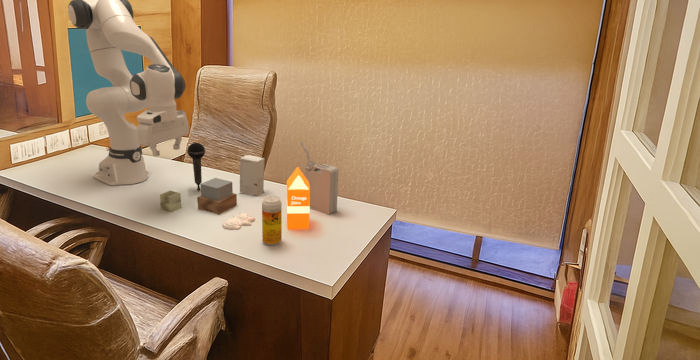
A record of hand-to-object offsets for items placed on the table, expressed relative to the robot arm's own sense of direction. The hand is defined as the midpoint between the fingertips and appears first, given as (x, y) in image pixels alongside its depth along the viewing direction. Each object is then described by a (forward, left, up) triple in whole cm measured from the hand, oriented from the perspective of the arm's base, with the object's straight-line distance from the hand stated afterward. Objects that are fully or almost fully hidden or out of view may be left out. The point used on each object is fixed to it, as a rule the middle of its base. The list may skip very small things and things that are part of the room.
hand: (166, 152), depth 167 cm
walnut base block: (+13, +10, -22) cm, 27 cm away
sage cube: (0, 0, -22) cm, 22 cm away
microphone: (-4, +19, -22) cm, 29 cm away
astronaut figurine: (+28, +3, -22) cm, 36 cm away
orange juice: (+46, +13, -22) cm, 52 cm away
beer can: (+46, -3, -22) cm, 51 cm away
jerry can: (+45, +29, -22) cm, 58 cm away
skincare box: (+15, +29, -22) cm, 39 cm away
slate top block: (+13, +10, -17) cm, 23 cm away
